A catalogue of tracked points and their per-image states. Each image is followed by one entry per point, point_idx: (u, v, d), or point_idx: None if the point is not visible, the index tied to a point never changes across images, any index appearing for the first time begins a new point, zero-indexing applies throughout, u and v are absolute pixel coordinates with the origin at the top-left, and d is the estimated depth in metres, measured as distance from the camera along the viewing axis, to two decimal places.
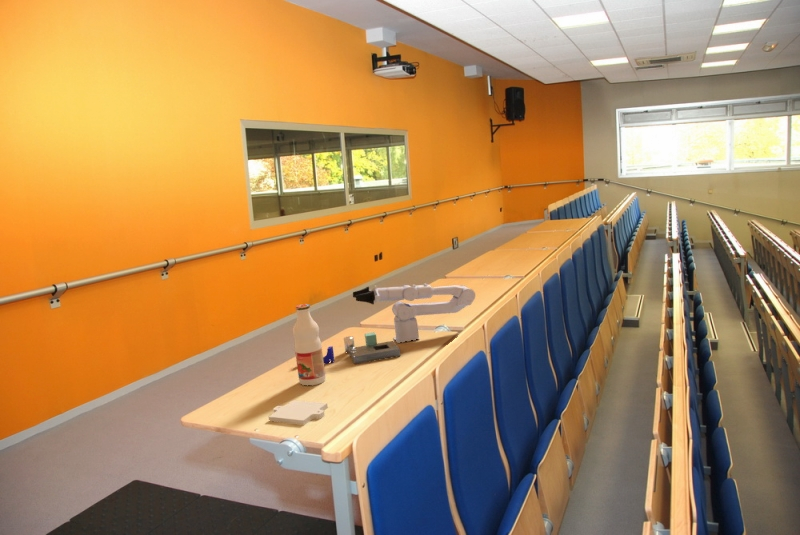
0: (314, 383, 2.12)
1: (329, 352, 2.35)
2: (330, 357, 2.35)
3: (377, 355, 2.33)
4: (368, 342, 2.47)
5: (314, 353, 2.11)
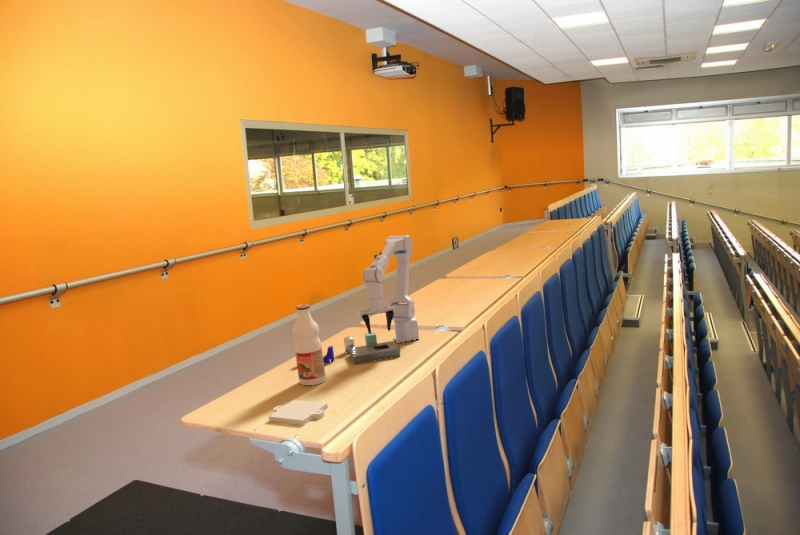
0: (314, 383, 2.12)
1: (330, 351, 2.35)
2: (330, 356, 2.36)
3: (377, 355, 2.33)
4: (368, 342, 2.47)
5: (314, 353, 2.11)
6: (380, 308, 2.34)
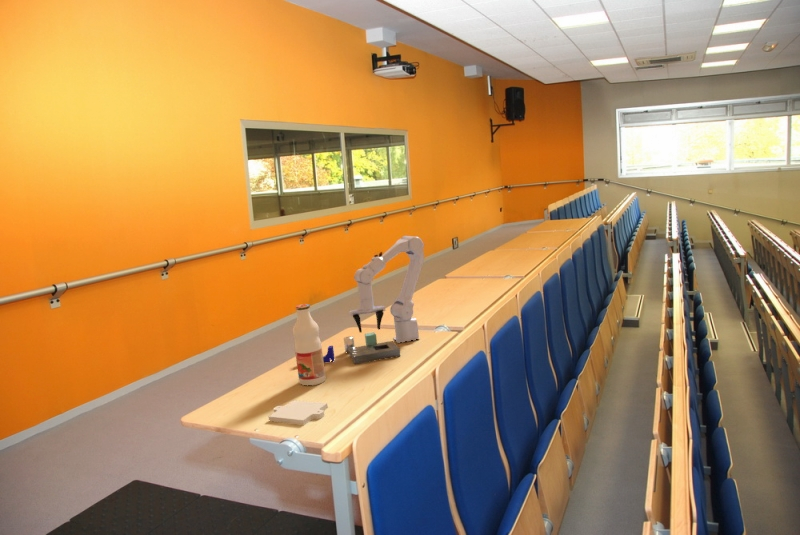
0: (314, 383, 2.12)
1: (330, 351, 2.36)
2: (330, 356, 2.36)
3: (377, 355, 2.33)
4: (368, 342, 2.47)
5: (314, 353, 2.11)
6: (370, 308, 2.44)
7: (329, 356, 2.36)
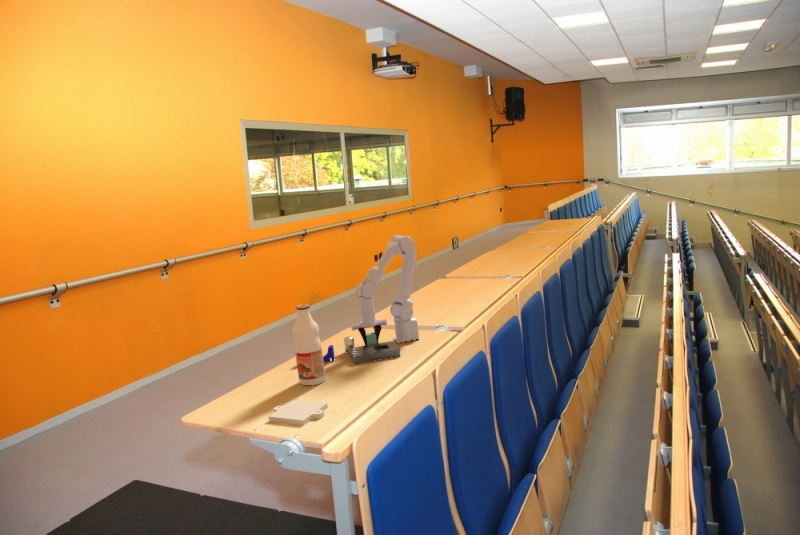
0: (314, 383, 2.12)
1: (330, 350, 2.37)
2: (331, 356, 2.37)
3: (377, 355, 2.33)
4: (368, 342, 2.47)
5: (314, 353, 2.11)
6: (372, 322, 2.45)
7: (329, 355, 2.37)
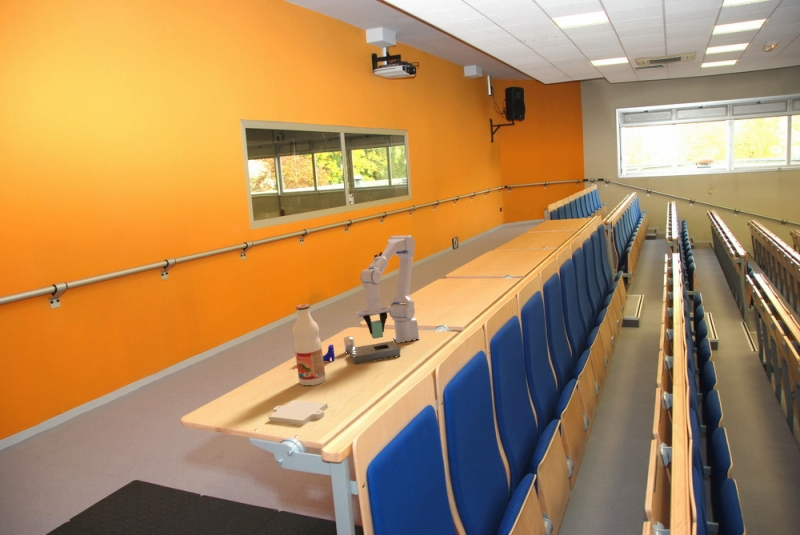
0: (314, 383, 2.12)
1: (330, 350, 2.37)
2: (331, 355, 2.38)
3: (377, 355, 2.33)
4: (373, 330, 2.38)
5: (314, 353, 2.11)
6: (377, 309, 2.37)
7: (329, 355, 2.38)
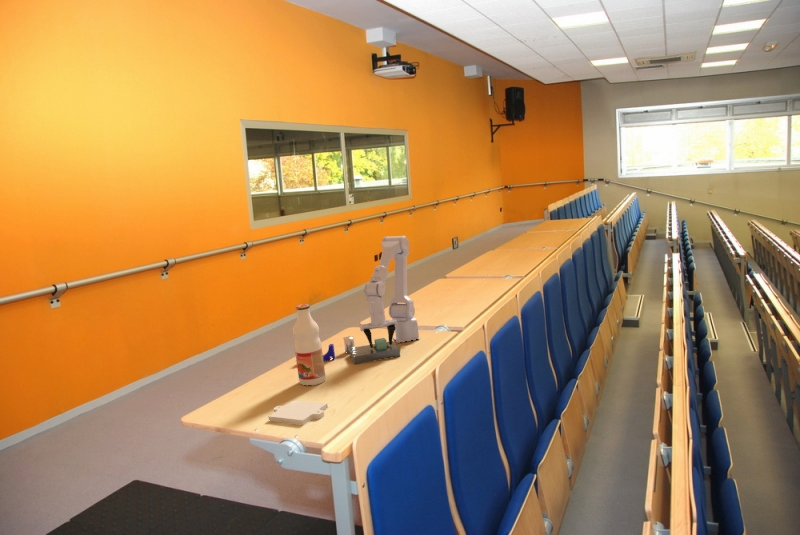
0: (314, 383, 2.12)
1: (331, 349, 2.38)
2: (331, 354, 2.39)
3: (377, 355, 2.33)
4: (378, 348, 2.37)
5: (314, 353, 2.11)
6: (382, 322, 2.35)
7: (330, 354, 2.39)
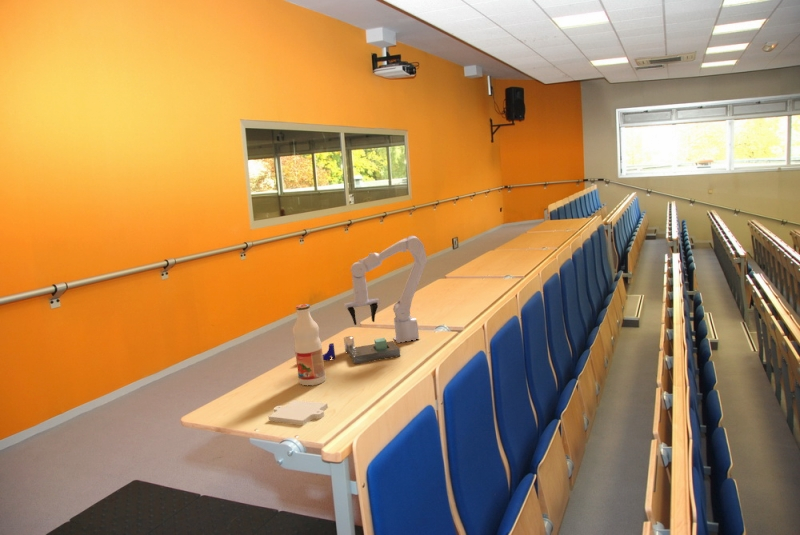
0: (314, 383, 2.12)
1: (331, 349, 2.39)
2: (331, 354, 2.39)
3: (377, 355, 2.33)
4: (378, 348, 2.37)
5: (314, 353, 2.11)
6: (365, 301, 2.50)
7: (330, 354, 2.39)
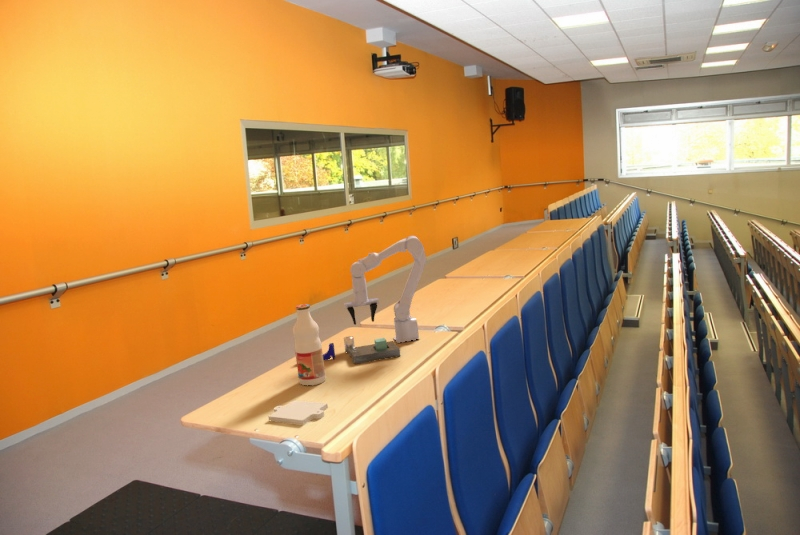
0: (314, 383, 2.12)
1: (331, 348, 2.39)
2: (332, 353, 2.40)
3: (377, 355, 2.33)
4: (378, 348, 2.37)
5: (314, 353, 2.11)
6: (364, 300, 2.51)
7: (330, 353, 2.40)
